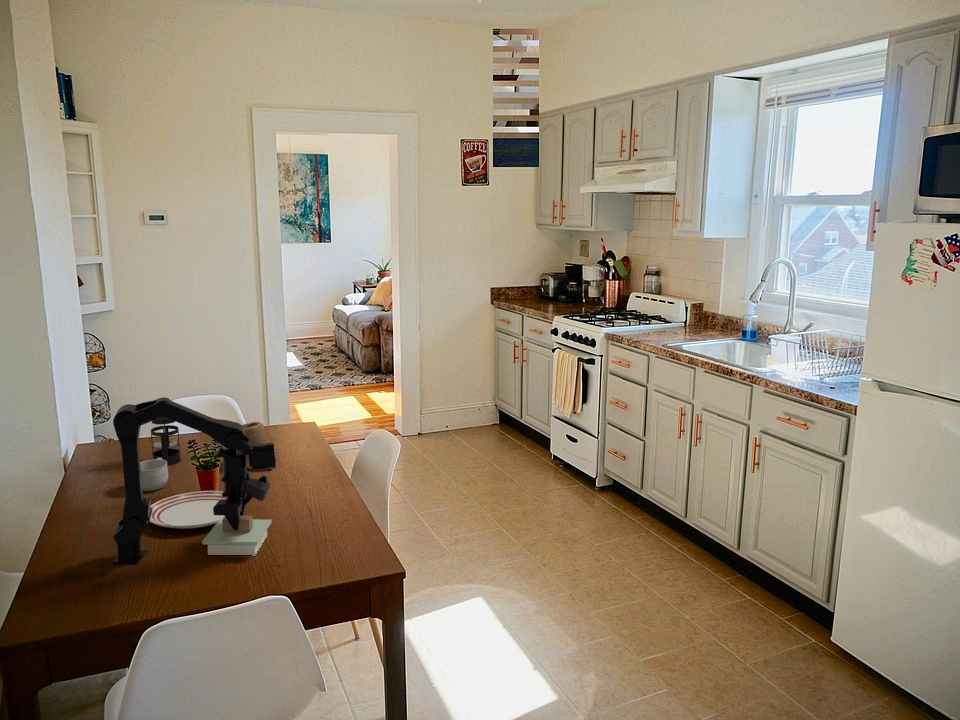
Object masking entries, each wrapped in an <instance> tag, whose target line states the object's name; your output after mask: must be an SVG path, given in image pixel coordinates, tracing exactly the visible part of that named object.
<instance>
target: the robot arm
mask: <svg viewBox="0 0 960 720" xmlns="http://www.w3.org/2000/svg"><path fill="white" fill-rule="evenodd" d="M158 398H159V399H158ZM158 398H156V399H157V400H156V399H154V400H149V401H143V402H140V403H137V404H133V403H132V404H129V403H128V404H124V405H122V406H120V407H119V409H117V412H116V413H115V416H114V417H113V420H112V421H113V422H112V424H113V428H114V431H115V434H116V437H117V440H118V442H119V444H120V448H121V449H120V450H121V459H122V470H123V481H124V483H123V484H124V492H125V493H124V494H125V496H124V497H125V501H124V508H123V511H122V512H123V514H122V518H121V519H120V520H119V521H118V522H117V525H116V528H115V531H114V534H113V536H112V537H113V540H114V541H115V543H116V549H117V552H116V553H117V556H115V558H114V559H113V560H112V561H111V562H112V564H116V565H117V564H121V565H125V564H126V565H127V564H128V565H129V564H130V565H133V564H134V565H137V564H139V563H140V562H141V561H142V560H143V559H144V558H145V557H146V556H147V555H148V554H149V550H143V541H142V532H144V531H145V530H146V529H147V526H148V523H149V521H150V519H151V515H152V509H151V503H152V502H151V501H152V497H146V496H145V494H144V491H142V479H141V467H140V462H141V457H140V456H141V454H140V443H139V439H140V433H141V427H142V426H143V425H146V424H148V423H151V422H152V421H153V420H155V419H157V418H160V417H166V418H168V419H171V420H173V421H176V422H175V423H178V424H181V425H183V426H186V427H189V428H191V429H194V430H196V431H198V432H200V433H202V434H206V435H207V436H209V437H210V438H212V440H214V441H215V442H216V443H218V444H219V445H220V447H219V448H218V449H217V450H216V451H214V454H215V455H214V457H215V458H216V459H220V458H221V459H222V465H223V467H222V468H223V469H222V470H223V471H222V472H223V476H222V477H221V478H220V479H221V481H220V482H221V483H223V487H224V488H223V491H224V492H223V493H222V497H227V499H221V500H220V501H219V502H218V503H217V504H216V505H215V506H214V507H213V515H224V516H225V517H226V519H227V520H228V522H229V523H230V525H231V527H232V528H233V530H238V527H239V519H240V516H245V511H246V508H247V504H248V503H249V502H250V501H251V500H252V499H253V498H254V499H256V500H257V501H259V502H262V501H264V500H265V499H266V498H267V495H268V492H269V491H270V488H271V483H270V481H269V476H267V475H264V474H262V475H261V476H260V477H259V478H256V477H255V478H252V477H251V473H250V471H247V469H248V468H247V466H246V455H249V467H251V466H252V469H251V470H253V471H263V470H262V469H266V470H270V469H271V470H272V469H276V467H277V463H276V462H277V461H276V453H275V444H274V442H267V443H266V442H265V444H256V445H252V441H251V440H250V439H249V438H248V437H247V436H246V435H245V431H244V428H243V426H242V425H243V424H240V423H239V422H236V421H232V420H228V419H221V418H220V419H218V418H213V417H211V416H209V415H206V414H204V413H202V412H200V411H197V410H194V409H192V408H189V407H187V406H184V405H182V404H180V403H178V402H176V401H173V400H171V399H170V398H169V399H168V397H164V396H163V397H158Z"/></svg>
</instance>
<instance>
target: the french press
mask: <svg viewBox="0 0 960 720" xmlns="http://www.w3.org/2000/svg"><path fill="white" fill-rule="evenodd" d="M159 398H160V397H158V398H156V399H155V400H157V399H159ZM167 398H168V397H167ZM168 399H170V398H168ZM174 423H177V422H176V421H173V420H171V419H168V418H166V417H160V418H157V419H155V420H153V421H151V424H152V425H158V426H155V427H152V428H151V429H150V436H151V440H150V441H151V452H152V460H154V459H157V458H162V460H165V461H167V467H168V466H173V465H176V464H179V463H181V461H182V458H181V447H180V446H181V445H180V432H179V430H180V428H179V426H177V425H174ZM169 424H171V425H169ZM172 424H173V425H172ZM159 425H160V426H159ZM160 430H162V431H163V432H157V431H160ZM169 430H171V431H169ZM176 434H177V439H178V441H176V440H170V436H173V435H174V436H175V435H176ZM153 436H154V437H160V441H158V442H155V443H153ZM176 447H178V449H177V448H176ZM154 449H155V451H154Z"/></svg>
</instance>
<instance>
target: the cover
mask: <svg viewBox="0 0 960 720" xmlns="http://www.w3.org/2000/svg"><path fill="white" fill-rule="evenodd" d="M271 524H272V519H257V518H256V519H255V518H253V515H244V516H240V519H239V527H238V530H233V528H232V527H231V525H230V523H229V522H228V520H227V519H226V517H224V518H223V519H220V520H219V521H218V522H217V523H216V524H214V526H213V527H212V528H211V530H210V531H209V532H208V534H207V535H206V536H205V537H204V539H203V540H202V541H201V544H202V545H208V544H215V545H258V543H259V541H260V540H261V538H262V537H263V535H264V533H265V532H266V530H267V531H268V529H269V527H270V525H271Z"/></svg>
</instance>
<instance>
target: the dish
mask: <svg viewBox="0 0 960 720" xmlns="http://www.w3.org/2000/svg"><path fill="white" fill-rule="evenodd" d="M267 537H268V529H267V530H266V532H265V533H264V535H263V537H262V538H261V540H260V541H259V543H258V545H215V544H207V555H252V556H251V557H255V556H256V555H257V553H258V552H259V550H260V549H259V548H261V547H262V545H263V544H262V543H264V542H265V541H264V540H266V539H267ZM265 538H266V539H265ZM257 551H258V552H257Z"/></svg>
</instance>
